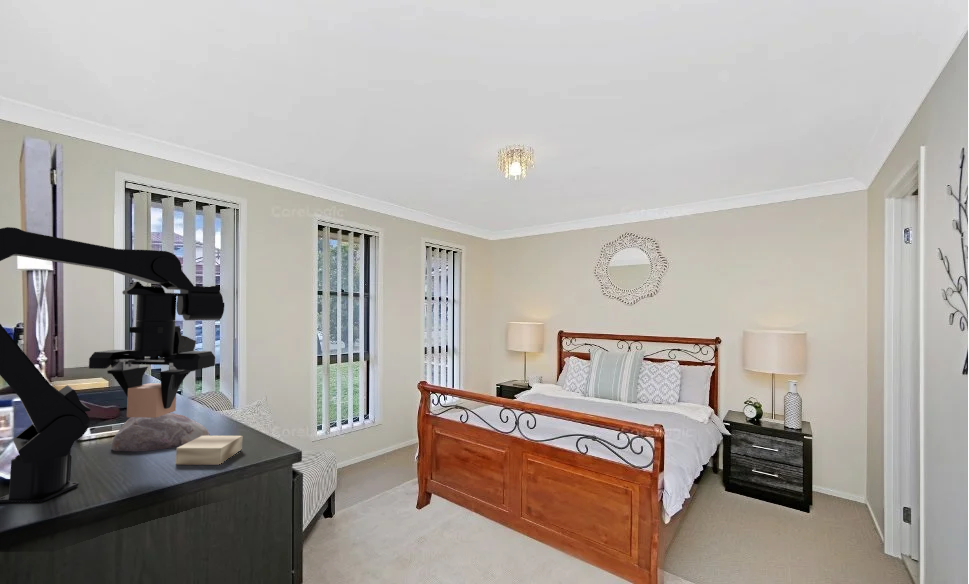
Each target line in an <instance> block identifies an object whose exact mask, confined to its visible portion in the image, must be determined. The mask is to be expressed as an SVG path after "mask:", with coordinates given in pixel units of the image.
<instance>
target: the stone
mask: <svg viewBox="0 0 969 584" xmlns="http://www.w3.org/2000/svg"><path fill="white" fill-rule="evenodd" d="M200 436H211V434H210V432H209V430H208V429H207V427H205V426H204V425H203V424H201V423H199V422H197V421H196V420H194V419H191V418H189V417H187V416H186V415H183V414H178V413H173V412H171V413H168V414H165V415H162V416H159V417H156V418H150V417H129V418H128V419H127V420H126V421H125V422H124V423H123V424H122V426H121V427H120V429H119V430H118V431H117V433H116V434H115V435H114V437H113V439H112V445H111V449H112V451H114V452H146V451H148V452H149V451H154V450H164V449H172V448H178V447H180V446H182V445H184V444H186V443H188V442H190V441H192V440H194V439H196V438H198V437H200Z"/></svg>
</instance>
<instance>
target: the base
mask: <svg viewBox="0 0 969 584" xmlns="http://www.w3.org/2000/svg"><path fill="white" fill-rule="evenodd" d="M241 449H242V450H243V435H210V436H200V437H198V438H196V439H194V440H192V441H190V442H188V443H186V444H184V445H182V446H180V447H176V452H175V465H181V466H182V465H189V466H190V465H201V466H203V465H205V466H206V465H211V466H212V465H219V464H220V465H222V464H224V463H225V462H227V461H228V460H229V459H228V458H230V457H231V456H233V455H234V454H236V453H237V452H238V451H240V450H241ZM237 454H238V453H237ZM237 454H236V455H237ZM234 456H235V455H234ZM234 456H233V457H234ZM231 458H232V457H231ZM231 458H230V459H231ZM227 459H228V460H227ZM226 460H227V461H226ZM224 461H225V462H224ZM221 463H222V464H221Z"/></svg>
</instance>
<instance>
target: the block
mask: <svg viewBox="0 0 969 584" xmlns="http://www.w3.org/2000/svg"><path fill="white" fill-rule="evenodd" d="M126 401H127V402H126V404H127V405H126V418H131V417H150V418H156V417H159V416H162V415H165V414H168V413H173V412H176V408H177V407H176V406H177V395H176V396H175V398H174V400H173V402H172V404H171V407H170V408H167V409H164V406H163V401H162V389H161V382H160V383H157V382H155V383H154V382H152V383H151V382H149V383H144V384H142V385H140V386H135V387H131V388H128V398H127V399H126Z"/></svg>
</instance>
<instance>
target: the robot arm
mask: <svg viewBox="0 0 969 584" xmlns="http://www.w3.org/2000/svg"><path fill="white" fill-rule="evenodd" d="M10 257H22V258H29V259H35V260H43V261H48V262H56V263H61V264H65V265H66V264H68V265H73V266H79V267H85V268H93V269H99V270H105V271H110V272H113V273H117V274H119V275H121V276H124V277H125V276H126V277H128V278H129V279H134V280H137V281H133V282H132V284H131V285H130V286H128V287H127V288H126V289H124V290H122V295H124V296H127V295H128V296H136V311H135V313H136V314H135V315H136V316H135V326H129V334H130V333H131V334H135V335H134V349H110V350H102V351H94V352H93V353H92V354H91V356H90V357H88V369H90V370H91V369H94V370H95V369H97V370H98V369H99V370H100V369H101V370H106V369H108V368H110V369H109V370H107V371H106V373H107V374H109V375H111V376H113V378H114V379H115V380H116V382H117V383H118V385H119V386H120V388H121V389H122V391H123V392H124V394H125V396H126V397H127V398H128V388H131V387H135V386H140V385H143V377H144V375H145V373H146V371H147V370H148V368H149V367H148V366H140V365H150V366H151V365H152V366H154V365H156V366H157V365H158V366H168V369H167V370H162V371H160V372H159V375H160V383H161V389H162V401H163V406H164V409H167V408H170V407H171V404H172V402H173V400H174V398H175V396H176V397H177V393H178V391H179V389H180V387H181V385H182V383H183V382H184V379H185V378H186V377H187V376H188V375H189V374H190V373H191V372H195V371H198V370H202V369H206V368H210V367H211V368H212V367H215V366H216V356H215V354H214V353H213V351H212V350H195V347H196V344H197V341H196V340H194V339H193V338H191V337H188V336H187V335H186V336H185V335H183V334H182V332H181V331H182V330H181V326H180V325H176V318H177V317H176V314H177V315H179V316H182V318H183V320H184V321H219V320H220V321H221V319H222V317H223V315H224V312H225V302H224V299H223V294H222V293H221V287H220V285H208V286H202V285H201V286H200V285H199V286H198V285H194V283H192V282H191V280H190V278H189V277H187V275H186V274H185V272H184V271H183V270H182V263H181V261H180V259H179V258H178V256H177V255H176V254H175V253H172V252H170V251H167V250H153V249H127V248H123V249H121V248H115V247H110V246H104V245H100V244H99V245H98V244H94V243H89V242H88V243H87V242H83V241H78V240H77V241H76V240H72V239H69V238H68V239H67V238H64V237H63V238H62V237H56V236H51V235H46V234H42V233H36V232H30V231H25V230H23V229H20V228H17V227H11V226H10V227H9V226H6V227H2V228H0V262H1V261H4V260H5V259H8V258H10ZM140 281H141V282H144V283H147V284H156V285H157V284H158V285H160V286H150V285H149V286H148V285H147V286H146V285H143V284H142V283H141V282H140ZM164 288H165V289H166V290H170V291H171V290H173V291H175V290H177V291H179V293H177V292H166V291H165V289H164ZM0 376H1V378H2V379H3V380H4V381H5V383H7V385H8V386H9V388H10V389H12V391H13V392H14V393H15V394H16V396H18V398H19V400H20V401H21V403H22V406H23V408H24V409H25V411H26V414H27V416H28V418H29V421H30V422H31V424H30V425H29V426H28V427H27V428H25V429H24V430H23V431H22V432H20V433H19V434H18V435H17V436H15V437H14V438H13V439H12V442H13V443H14V445H15V448H16V450H17V452H18V454H17V455H16V456H15V458H13V459H11V460H10V472H9V473H10V475H9V486H8V487H9V490H8V494H5V495H4V496H0V503H43V502H45V501H47V500H50V499H52V498H54V497H57V496H59V495H61V494H62V493H65V492H67V491H70V490H72V489H74V488H77V487H78V486H79V485H80V484H79V481H71V477H72V476H71V473H72V471H71V470H72V455H71V451H72V450H71V449H72V447H73V446H74V443H75V442H77V440H79V439H80V438H82V437H83V436H84V435H85V433H86V432H88V429H89V426H90V423H91V422H90V421H91V420H90V417H89V415H88V413H87V412H90V411H91V408H89V407H88V406H87V405H86V404H85V403H84V402H81V400H80V397H79V396H78V394H77V392H76V390H75V389H74V388H72V387H71V386H69V385H65V386H63V387H62V388H61V389H60V390H58V389H57V388H56V387H54V386H53V385H52V384H51V383H50V382H49V381H48V380H47V379H46V377H45V376H44V375H43V374H42V373H41V371H39V369H38V368H37V366H36V365H35V364H34V363H33V362H32V360H31V359H30V358H29V356H27V354H26V353H25V352H24V351H23V349H21V347H20V346H19V345H18V344H17V342H16V341H15V340H14V339H13V337H12V336H11V335H10V334H9V332H8V331H7V330H6V328H5V327H3V325H2V324H1V323H0Z"/></svg>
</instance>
